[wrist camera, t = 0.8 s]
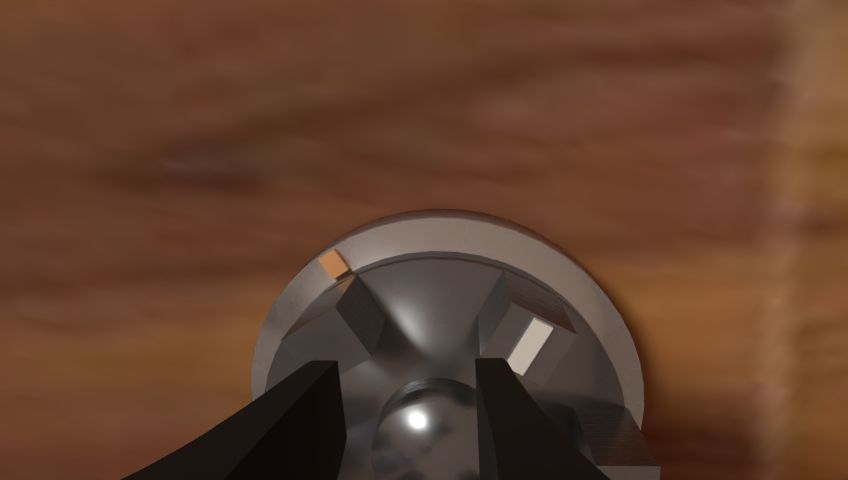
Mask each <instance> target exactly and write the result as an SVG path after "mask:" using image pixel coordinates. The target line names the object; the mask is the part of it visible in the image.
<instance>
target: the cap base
mask: <svg viewBox="0 0 848 480" xmlns="http://www.w3.org/2000/svg"><path fill="white" fill-rule="evenodd" d="M426 251H449V252H461V253H467V254H474V255H480V256H484V257H487V258H491V259H494V260H498V261H501V262H505V263H507V264H509V265H512V266H514V267H516V268H519V269H521V270H523V271H526V272H528V273H529V274H531V275H533V276H534V277H536V278H538V279H539V280H541V281H543V282H545V283H546V284H548V285H549V286H550V287H552V288H553V289H554V290H556V291H557V292H558V293H559V294H561V295H562V296H563V297H564V298H566V299H567V300H568V301H569V302H570V303H571V304H572V305H573V306H574V307H575V308H576V310H577V311H578V312H579V313H580V314H581V315H582V316H583V317H584V319H585V320H586V321H587V323H588V324H589V325H590V327H591V328H592V330H593V331H594V332H595V334H596V335H597V337H598V339H599V340H600V342H601V344H602V345H603V347H604V349H605V351H606V352H607V354H608V356H609V358H610V360H611V362H612V364H613V366H614V368H615V370H616V373H617V376H618V379H619V382H620V385H621V387H622V391H623V396H624V402H625V407H626V408H628V409H629V411H630V412H631V414H632V416H633V418H634V420H635V421H636V423H637V425H638V427H639V429H640V430H641V425H642V419H643V412H644V383H643V377H642V371H641V365H640V360H639V357H638V354H637V351H636V348H635V345H634V342H633V339H632V337H631V335H630V333H629V331H628V329H627V327H626V325H625V323H624V321H623V319H622V317H621V315H620V314H619V312H618V311H617V310H616V308H615V307H614V305H613V304H612V302H611V301H610V300H609V298H608V297H607V295H606V294H605V293H604V292H603V290H602V289H601V288H600V286H599V285H598V284H597V283H596V281H595V280H594V279H593V278H592V276H591V275H590V274H589V273H588V272H587V271H586V270H585V269H584V268H583V267H582V266H581V265H580V264H579V263H578V262H577V261H576V260H575V259H574V258H573V257H572V256H571V255H569V254H568V253H567V252H566V251H564V250H563V249H562V248H561V247H559V246H558V245H557V244H555V243H554V242H552V241H550V240H549V239H547V238H545V237H544V236H542V235H540V234H539V233H537V232H535V231H534V230H531V229H529V228H527V227H524V226H522V225H520V224H517V223H515V222H513V221H511V220H507V219H504V218H500V217H497V216H493V215H490V214H486V213H481V212H474V211H468V210H461V209H425V210H416V211H407V212H403V213H399V214H395V215H391V216H387V217H383V218H380V219H377V220H375V221H372V222H370V223H367V224H365V225H362V226H360V227H358V228H356V229H354V230H352V231H351V232H349V233H347V234H345V235H343V236H342V237H340V238H338V239H337V240H336V241H334V242H333V243H332V244H330V245H329V246H328V247H326V248H325V249H324V250H322V251H321V252H320V253H319V254H318V255H317V256H316V257H315V258H314V259H313V260H312V261H311V262H310V263H309V264H308V265H307V266H306V267H305V268H304V269H303V270H302V271H301V272H300V273H299V274H298V275H297V276H296V277H295V278H294V279H293V280H292V281H291V282H290V283H289V284H288V285H287V286H286V288H285V289H284V290H283V292H282V293H281V294H280V296H279V297H278V299H277V300H276V301H275V303H274V304H273V306H272V308H271V310H270V312H269V314H268V316H267V318H266V320H265V321H264V323H263V326H262V329H261V332H260V335H259V338H258V341H257V343H256V348H255V353H254V358H253V364H252V381H251V391H252V400H253V401H254V400H255V399H257V398H258V397H260V396H261V395H262V394H264V391H265V386H266V381H267V376H268V372H269V369H270V366H271V364H272V361H273V358H274V355H275V353H276V351H277V349H278V347H279V346H280V344H281V341H280V340H281V339H282V338H283V336H284V335H285V334H286V333H287V331H288V330H289V329H290V328H291V326H292V325H293V324H294V323H295V322H296V320H297V319H298V318H299V316H300V315H301V314H302V313H303V312H304V310H305V309H306V308H307V307H308V305H309V304H310V303H311V302H312V301H313V300H314V299H315V298H316V297H318V296H319V295H320V294H321V293H322V292H323V291H324V290H325V289H326V288H328V287H329V286H331V285H332V284H333V283H335V282H336V281H337V280H339V279H340V278H342V277H343V276H345V275H347V274H349V273H351V272H353V271H355V270H357V269H358V268H360V267H363V266H365V265H368V264H371V263H373V262H376V261H379V260H381V259H384V258H389V257H393V256H397V255H402V254H406V253H416V252H426Z"/></svg>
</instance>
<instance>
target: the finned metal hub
mask: <svg viewBox="0 0 848 480" xmlns="http://www.w3.org/2000/svg"><path fill="white" fill-rule="evenodd" d="M280 341H281V344H280V346H279V347H278V349H277V351H276V353H275V355H274V358H273V361H272V364H271V366H270V369H269V372H268V376H267V381H266V386H265V391H264V393H265V392H267V391H268V390H269V389H271V388H272V387H274V386H275V385H276V384H278V383H279V382H281V381H282V380H283V379H285V378H286V377H287V376H289V375H290V374H292V373H293V372H294V371H296V370H297V369H299V368H300V367H302V366H303V365H305V364H306V363H308V362H310V361H314V360H338V368H339V376H340V384H341V392H342V400H343V408H344V416H345V424H346V432H347V440H346V445H345V449H344V454H343V458H342V463H341V467H340V471H339V475H338V479H337V480H480V473H479V451H478V426H477V399H476V373H475V358H504V359H505V360H506V361H507V362H508V363H509V365H510V367H511V369H512V370H513V372H514V374H515V375H516V377H517V378H518V380H519V381H520V382H521V384H522V385H523V387H524V388H525V389H526V391H527V392H528V393H529V395H530V396H531V397H532V399H533V400H534V401H535V402H536V404H537V405H538V406H539V407H540V408H541V410H542V411H543V412H544V413H545V415H546V416H547V417H548V418H549V419H550V420H551V422H552V423H553V424H554V425H555V426H556V427H557V428H558V429H559V430H560V431H561V433H562V434H563V435H564V436H565V437H566V438H567V439H568V440H569V441H570V442H571V443H572V444H573V445H574V446H575V447H576V448H577V449H578V450H579V451H580V452H581V453H582V454H583V455H584V456H585V457H586V458H587V459H588V460H589V461H590V462H592V463H593V464H594V465H595V466H596V467H597V468H598V469H599V470H601V471H602V472H603V473H604V474H605V475H606V476H608V477H609V478H610V479H611V480H660V468H661V466H660V464H659V462H658V461H657V459H656V457H655V455H654V454H653V452H652V450H651V448H650V446H649V445H648V443H647V441H646V439H645V437H644V436H643V434H642V432H641V430H640V429H639V427H638V425H637V423H636V421H635V420H634V418H633V416H632V414H631V412H630V411H629V409H628V408H626V407H625V402H624V396H623V391H622V387H621V385H620V382H619V379H618V376H617V373H616V370H615V368H614V366H613V364H612V362H611V360H610V358H609V356H608V354H607V352H606V351H605V349H604V347H603V345H602V344H601V342H600V340H599V339H598V337H597V335H596V334H595V332H594V331H593V330H592V328H591V327H590V325H589V324H588V323H587V321H586V320H585V319H584V317H583V316H582V315H581V314H580V313H579V312H578V311H577V310H576V308H575V307H574V306H573V305H572V304H571V303H570V302H569V301H568V300H567V299H566V298H564V297H563V296H562V295H561V294H559V293H558V292H557V291H556V290H554V289H553V288H552V287H550V286H549V285H548V284H546V283H545V282H543V281H541V280H539V279H538V278H536V277H534V276H533V275H531V274H529V273H528V272H526V271H523V270H521V269H519V268H516V267H514V266H512V265H509V264H507V263H505V262H501V261H498V260H494V259H491V258H487V257H484V256H480V255H474V254H467V253H461V252H449V251H426V252H416V253H406V254H402V255H397V256H393V257H389V258H384V259H381V260H379V261H376V262H373V263H371V264H368V265H365V266H363V267H360V268H358V269H357V270H355V271H353V272H351V273H349V274H347V275H345V276H343V277H342V278H340V279H339V280H337V281H336V282H335V283H333V284H332V285H331V286H329V287H328V288H326V289H325V290H324V291H323V292H322V293H321V294H320V295H319V296H318V297H316V298H315V299H314V300H313V301H312V302H311V303H310V304H309V305H308V307H307V308H306V309H305V310H304V312H303V313H302V314H301V315H300V316H299V318H298V319H297V320H296V322H295V323H294V324H293V325H292V326H291V328H290V329H289V330H288V331H287V333H286V334H285V335H284V336H283V338H282V339H281V340H280Z"/></svg>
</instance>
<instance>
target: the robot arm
mask: <svg viewBox="0 0 848 480" xmlns="http://www.w3.org/2000/svg"><path fill="white" fill-rule="evenodd" d="M475 373H476V399H477V426H478V451H479V473H480V480H611V479H610V478H609V477H608V476H606V475H605V474H604V473H603V472H602V471H601V470H599V469H598V468H597V467H596V466H595V465H594V464H593V463H592V462H590V461H589V460H588V459H587V458H586V457H585V456H584V455H583V454H582V453H581V452H580V451H579V450H578V449H577V448H576V447H575V446H574V445H573V444H572V443H571V442H570V441H569V440H568V439H567V438H566V437H565V436H564V435H563V434H562V433H561V431H560V430H559V429H558V428H557V427H556V426H555V425H554V424H553V423H552V422H551V420H550V419H549V418H548V417H547V416H546V415H545V413H544V412H543V411H542V410H541V408H540V407H539V406H538V405H537V404H536V402H535V401H534V400H533V399H532V397H531V396H530V395H529V393H528V392H527V391H526V389H525V388H524V387H523V385H522V384H521V382H520V381H519V380H518V378H517V377H516V375H515V374H514V372H513V370H512V369H511V367H510V365H509V363H508V362H507V361H506V360H505V359H504V358H475ZM346 440H347V432H346V424H345V416H344V408H343V400H342V392H341V384H340V376H339V368H338V360H314V361H310V362H308V363H306V364H305V365H303V366H302V367H300V368H299V369H297V370H296V371H294V372H293V373H292V374H290V375H289V376H287V377H286V378H285V379H283V380H282V381H281V382H279V383H278V384H276V385H275V386H274V387H272V388H271V389H269V390H268V391H267V392H265V393H264V394H262V395H261V396H260V397H258V398H257V399H255V400H254V401H253V402H251V403H250V404H248V405H247V406H246V407H244V408H243V409H241V410H240V411H238V412H237V413H235V414H234V415H232V416H231V417H229V418H227V419H226V420H224V421H223V422H221V423H220V424H218V425H217V426H215V427H214V428H212V429H211V430H209V431H208V432H206V433H205V434H203V435H202V436H200V437H198V438H197V439H195V440H193V441H192V442H190V443H188V444H187V445H185V446H183V447H181V448H180V449H178V450H176V451H175V452H173V453H171V454H169V455H167V456H165V457H164V458H162V459H160V460H158V461H156V462H155V463H153V464H151V465H149V466H147V467H145V468H143V469H141V470H139V471H138V472H136V473H133V474H131V475H129V476H127V477H125V478H123V479H121V480H337V479H338V475H339V471H340V467H341V463H342V458H343V454H344V449H345V445H346Z"/></svg>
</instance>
